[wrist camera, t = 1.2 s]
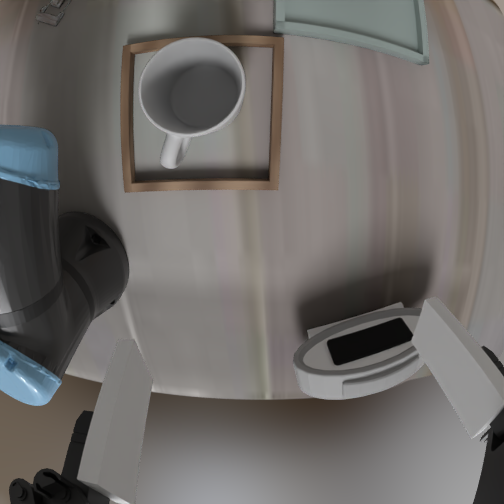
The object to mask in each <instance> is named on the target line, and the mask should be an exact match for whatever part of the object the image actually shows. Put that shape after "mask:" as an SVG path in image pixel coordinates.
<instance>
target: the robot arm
mask: <svg viewBox="0 0 504 504" xmlns="http://www.w3.org/2000/svg"><path fill="white" fill-rule="evenodd" d="M59 188H60V181H59V180H58V144H57V140H56V138H55V136H54V135H53V134H52V133H51V132H50V131H49V130H47V129H44V128H39V127H31V126H20V125H0V390H2V391H3V392H5V393H6V394H8V395H10V396H11V397H13V398H15V399H17V400H19V401H21V402H24V403H26V404H29V405H35V406H39V405H44V404H46V403H48V402H49V401H50V400H51V398H52V396H53V394H54V393H55V391H56V390H57V388H58V387H59V386H60V384H61V383H62V381H61V379H62V377H63V375H64V373H65V371H66V369H67V367H68V365H69V363H70V361H71V359H72V357H73V355H74V353H75V351H76V349H77V347H78V346H79V344H80V342H81V340H82V338H83V336H84V334H85V333H86V331H87V329H88V327H89V325H90V323H91V322H92V320H94V319H95V318H97V317H98V316H99V315H101V314H102V313H104V312H105V311H106V310H108V309H110V308H111V307H112V306H114V305H115V304H116V302H117V301H118V300H119V299H120V297H121V295H122V293H123V292H124V290H125V288H126V286H127V283H128V278H129V265H128V260H127V256H126V253H125V250H124V248H123V246H122V244H121V242H120V241H119V239H118V238H117V236H116V235H115V234H114V232H113V231H112V230H111V229H110V228H109V227H108V226H107V225H106V224H104V223H103V222H102V221H100V220H99V219H97V218H95V217H93V216H91V215H89V214H86V213H81V212H69V213H65V214H63V215H60V216H59V217H58V189H59ZM411 342H412V344H413V345H414V347H415V348H416V349H417V351H418V352H419V354H420V355H421V357H422V358H423V360H424V362H425V363H426V365H427V366H428V368H429V369H430V371H431V372H432V374H433V375H434V377H435V378H436V380H437V381H438V383H439V385H440V387H441V388H442V390H443V391H444V393H445V395H446V396H447V398H448V400H449V401H450V403H451V405H452V406H453V408H454V410H455V412H456V413H457V415H458V417H459V419H460V420H461V422H462V424H463V426H464V428H465V429H466V431H467V433H468V435H469V437H470V439H471V438H473V437H475V436H476V435H478V434H480V433H481V432H482V431H483V430H484V429H485V428H486V427H487V426H488V425H489V424H490V426H491V428H490V429H489V430H488V431H487V432H486V433H485V434H484V435H483V436H482V437H481V440H480V442H482V441H483V440H484V439H485V438H486V437H487V436H488V438H487V439H486V440H485V441H484V442H485V443H487V446H486V452H485V457H484V462H483V467H482V472H481V476H480V480H479V484H478V488H477V492H476V495H475V499H474V502H473V504H504V367H503V365H502V363H501V362H500V361H498V358H497V357H496V356H495V354H494V353H493V352H492V351H491V350H489V349H488V348H486V347H485V346H483V347H480V345H479V344H478V343H477V342H476V341H475V339H474V338H473V337H472V336H471V335H470V333H469V332H468V331H467V330H466V329H465V328H464V326H463V325H462V324H461V323H460V322H459V321H458V320H457V318H456V317H455V316H454V315H453V314H452V313H451V312H450V311H449V310H448V308H447V307H446V306H445V305H444V304H443V303H442V302H441V301H440V300H439V299H438V298H437V297H432V298H428V299H425V301H424V304H423V307H422V311H421V314H420V317H419V320H418V323H417V326H416V329H415V332H414V335H413V337H412V340H411ZM152 384H153V378H152V376H151V374H150V372H149V370H148V368H147V366H146V364H145V361H144V359H143V357H142V355H141V353H140V351H139V349H138V346H137V344H136V342H135V340H134V339H118V342H117V345H116V347H115V350H114V353H113V356H112V358H111V361H110V364H109V367H108V370H107V373H106V375H105V378H104V381H103V384H102V388H101V391H100V394H99V397H98V400H97V404H96V407H95V410H94V412H92V411H83V413H82V414H81V415H80V416H79V418H78V419H77V421H76V424H75V427H74V433H73V434H72V437H71V442H70V444H69V448H68V451H67V455H66V459H65V463H64V467H63V471H62V474H61V475H60V474H58V473H57V472H55V471H54V470H52V469H48V468H46V469H42V470H40V471H39V472H37V474H36V475H35V477H34V482H33V484H30V483H28V482H27V481H25V480H24V479H20V478H18V479H15V480H14V481H12V483H11V485H10V487H9V494H10V501H11V504H109V501H110V499H111V500H113V501H115V502H116V503H121V504H135V502H136V491H137V482H138V473H139V464H140V457H141V450H142V443H143V435H144V429H145V423H146V417H147V411H148V405H149V399H150V394H151V389H152Z"/></svg>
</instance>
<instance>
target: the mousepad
mask: <svg viewBox="0 0 504 504" xmlns="http://www.w3.org/2000/svg"><path fill="white" fill-rule="evenodd" d="M51 1H52V0H51ZM51 1H50V3H52V5H51V6H54V7H57V8H59V6H60V5H61V3H62V2H63V1H65V0H53V1H52V2H51ZM70 2H71V0H70ZM70 2H69V3H70ZM50 3H49V4H50ZM69 3H68V4H69ZM49 4H48V5H46V7H42V9H41V10H40V13H38V14H37V16H36V20H39V21H42V22H45V23H48V24H51V25H54V26H57V24H58V22H59V21H60V20H61V18H62V17H63V15H64V13H63V11H64V10H65V9H64V10H63V11H62V12H60V13H59V15H58V16H57V17H56V16H53V15H50V14H47V13H44V11H45V10H46V9H47V7H48V6H49ZM62 4H63V3H62ZM68 4H67V6H68ZM67 6H66V7H67ZM60 7H61V6H60ZM66 7H65V8H66ZM38 24H39V23H38Z"/></svg>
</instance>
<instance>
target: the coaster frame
mask: <svg viewBox="0 0 504 504" xmlns="http://www.w3.org/2000/svg"><path fill="white" fill-rule="evenodd" d="M193 37H201V38H208V39H212V40H215V41H218V42H220V43H222V44H224V45H225V46H248V47H269V48H273V62H272V96H271V125H270V151H269V176H268V179H253V178H203V179H168V180H147V181H136V180H135V165H134V144H133V78H134V58H135V54H140V53H147V52H153V51H159V50H160V49H162V48H163V47H165V46H166V45H168V44H170V43H172V42H175V41H177V40H181V39H185V38H191V37H180V38H170V39H162V40H155V41H148V42H142V43H136V44H130V45H125V46H123V54H122V70H121V150H122V167H123V180H124V191H125V193H126V192H144V191H168V190H222V189H233V190H278V185H279V165H280V144H281V120H282V93H283V58H284V38H283V37H270V36H251V35H211V36H193Z"/></svg>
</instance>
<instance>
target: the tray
mask: <svg viewBox="0 0 504 504" xmlns="http://www.w3.org/2000/svg"><path fill="white" fill-rule="evenodd" d="M273 33H277V34H288V35H297V36H305V37H312V38H319V39H325V40H330V41H336V42H341V43H345V44H350V45H355V46H359V47H363V48H367V49H371V50H374V51H378V52H382V53H385V54H388V55H392V56H395V57H398V58H401V59H404V60H407V61H410V62H413V63H416V64H418V65H426V64H429V48H428V34H427V24H426V15H425V7H424V1H423V0H274V20H273Z"/></svg>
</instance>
